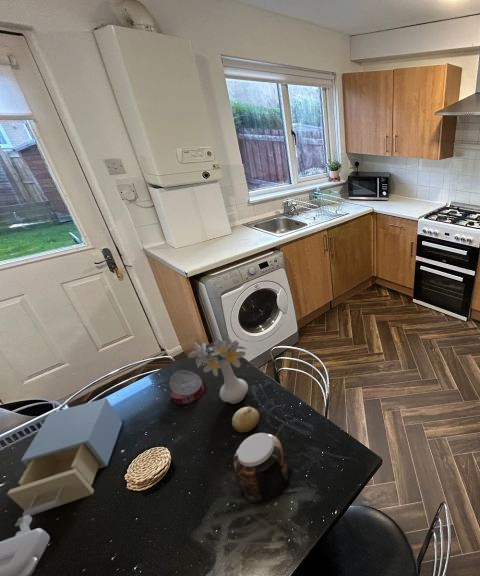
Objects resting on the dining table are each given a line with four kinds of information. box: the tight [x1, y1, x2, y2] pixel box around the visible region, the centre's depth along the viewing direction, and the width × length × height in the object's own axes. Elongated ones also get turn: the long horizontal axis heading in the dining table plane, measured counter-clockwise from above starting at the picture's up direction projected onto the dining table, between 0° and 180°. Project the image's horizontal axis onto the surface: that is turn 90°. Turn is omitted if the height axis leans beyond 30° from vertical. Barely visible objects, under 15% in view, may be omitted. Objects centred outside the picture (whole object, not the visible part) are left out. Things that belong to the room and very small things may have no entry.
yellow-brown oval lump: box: [231, 404, 260, 433], centre depth 99 cm, size 8×8×7 cm
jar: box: [232, 432, 290, 504], centre depth 82 cm, size 12×12×15 cm
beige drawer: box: [6, 444, 100, 517], centre depth 81 cm, size 19×13×10 cm, turn 24°
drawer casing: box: [20, 397, 123, 470], centre depth 91 cm, size 16×14×12 cm
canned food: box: [168, 369, 205, 405], centre depth 112 cm, size 11×10×10 cm
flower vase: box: [187, 335, 249, 405], centre depth 105 cm, size 13×18×25 cm
